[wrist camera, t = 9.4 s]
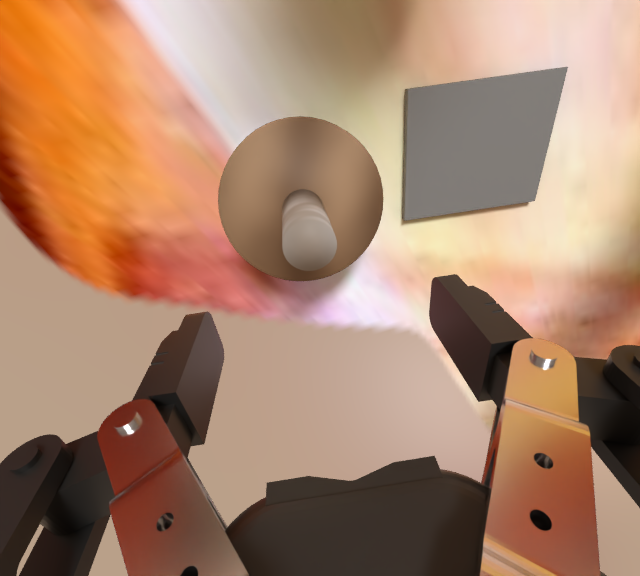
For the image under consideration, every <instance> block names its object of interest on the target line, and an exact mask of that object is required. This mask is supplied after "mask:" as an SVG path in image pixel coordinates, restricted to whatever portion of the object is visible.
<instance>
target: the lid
mask: <svg viewBox="0 0 640 576" xmlns="http://www.w3.org/2000/svg"><path fill="white" fill-rule="evenodd" d="M218 205H219V214H220V218H221V223H222V225H223V228H224V231H225V233H226V235H227V237H228V239H229V241H230V242H231V244H232V245H233V247H234V248H235V250H236V251H237V252H238V253H239V254H240V255H241V256H242V257H243V258H244V259H245V260H246V261H247V262H248V263H249V264H251V265H252V266H254V267H255V268H257V269H258V270H260V271H262V272H264V273H266V274H268V275H271V276H273V277H276V278H280V279H284V280H291V281H311V280H317V279H321V278H325V277H328V276H331V275H333V274H335V273H337V272H340V271H341V270H343V269H345V268H346V267H348V266H349V265H350V264H352V263H353V262H354V261H356V260H357V259H358V258H359V257H360V256H361V255H362V254H363V252H364V251H365V250H366V249H367V247H368V246H369V244H370V243H371V241H372V239H373V238H374V236H375V234H376V231H377V229H378V226H379V223H380V220H381V215H382V210H383V188H382V183H381V178H380V175H379V172H378V170H377V167H376V165H375V163H374V161H373V159H372V157H371V156H370V154H369V153H368V151H367V150H366V149H365V147H364V146H363V145H362V144H361V143H360V142H359V141H358V140H357V139H356V138H355V137H353V136H352V135H351V134H350V133H348V132H347V131H345V130H343V129H342V128H340V127H338V126H337V125H335V124H332V123H330V122H327V121H325V120H321V119H317V118H312V117H288V118H283V119H279V120H275V121H273V122H270V123H268V124H265V125H264V126H262V127H260V128H258V129H256V130H255V131H254V132H252V133H251V134H250V135H249V136H247V137H246V138H245V139H244V140H243V141H242V142H241V143H240V144H239V146H238V147H237V148H236V149H235V151H234V152H233V154H232V155H231V156H230V158H229V160H228V162H227V164H226V166H225V168H224V171H223V174H222V177H221V180H220V186H219V194H218Z"/></svg>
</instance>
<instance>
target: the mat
mask: <svg viewBox="0 0 640 576" xmlns="http://www.w3.org/2000/svg"><path fill="white" fill-rule="evenodd" d="M567 68H568V67H563V68H555V69H548V70H541V71H534V72H526V73H519V74H512V75H505V76H497V77H490V78H483V79H476V80H469V81H461V82H454V83H447V84H440V85H432V86H425V87H418V88H411V89H405V129H404V171H403V213H402V219H403V220H404V221H405V220H412V219H419V218H425V217H432V216H438V215H445V214H452V213H458V212H465V211H472V210H478V209H485V208H492V207H498V206H505V205H512V204H518V203H525V202H532V201H535V198H536V194H537V190H538V185H539V181H540V177H541V173H542V169H543V165H544V161H545V157H546V153H547V149H548V145H549V141H550V137H551V133H552V129H553V125H554V121H555V117H556V113H557V109H558V105H559V101H560V97H561V93H562V89H563V85H564V81H565V76H566V72H567Z"/></svg>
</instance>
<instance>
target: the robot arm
mask: <svg viewBox="0 0 640 576" xmlns="http://www.w3.org/2000/svg"><path fill="white" fill-rule="evenodd" d="M429 316H430V322H431V325H432V328H433V330H434V331H435V333H436V335H437V336H438V338H439V339H440V341H441V343H442V344H443V346H444V347H445V349H446V350H447V352H448V354H449V355H450V357H451V358H452V360H453V362H454V363H455V365H456V366H457V368H458V370H459V371H460V373H461V374H462V376H463V378H464V379H465V381H466V382H467V384H468V386H469V387H470V389H471V390H472V392H473V394H474V395H475V397H476V398H477V400H478V402H480V401H487V400H493V401H494V402H495V404H496V405H497V407H496V411H495V416H494V421H493V426H492V432H491V437H490V443H489V448H488V453H487V459H486V464H485V468H484V473H483V477H482V481H481V483H480V482H478V481H476V480H473V479H472V478H469V477H467V476H464V475H461V474H459V473H456V472H451V471H447V470H441V469H440V468H439V466H438V463H437V461H436V458H435V456H431V457H424V458H419V459H412V460H406V461H400V462H394V463H391V464H389V465H387V466H385V467H383V468H381V469H379V470H376V471H374V472H372V473H370V474H368V475H366V476H364V477H361V478H359V479H357V480H354V481H345V480H337V479H328V478H320V477H311V476H306V477H300V478H294V479H288V480H281V481H275V482H269V483H267V489H266V498H263V499H261V500H260V501H258V502H256V503H255V504H253V505H251V506H250V507H249V508H247V509H246V510H245V511H244V512H242V513H241V514H240V515H239V516H238V517H237V518H236V519H235V520H234V521H233V522H232V523H231V524H230V525H229V526H228V527H227V525H226V523H225V522H224V520H223V518H222V517H221V515H220V513H219V512H218V510H217V508H216V506H215V505H214V503H213V501H212V500H211V498H210V496H209V494H208V492H207V491H206V489H205V487H204V486H203V484H202V482H201V480H200V479H199V477H198V475H197V473H196V471H195V470H194V468H193V466H192V465H191V463H190V461H189V459H188V458H187V457H188V454H189V450H190V446H195V445H202V444H204V443H205V438H206V434H207V430H208V426H209V421H210V417H211V413H212V409H213V404H214V400H215V395H216V392H217V387H218V382H219V378H220V374H221V370H222V366H223V362H224V349H223V345H222V342H221V339H220V337H219V334H218V332H217V329H216V326H215V324H214V321H213V318H212V316H211V314H210V313H209V312H202V313H195V314H189V315H186V316H185V317H184V319H183V321H182V324H181V326H180V328H179V330H177V331H172V332H171V333H170V334H169V335H168V336H167V337H166V338H165V339H164V340H163V341H162V342H161V344H160V346H159V348H158V350H157V352H156V356H155V357H154V358H153V360H152V362H151V366H149V368H148V370H147V372H146V374H145V376H144V378H143V380H142V382H141V384H140V386H139V388H138V390H137V392H136V394H135V396H134V398H133V400H132V401H130V402H128V403H126V404H123V405H122V406H120V407H118V408H117V409H115V410H114V411H113V412H112V413H111V414H110V415H108V416H107V418H106V419H105V420H104V421H103V423H102V424H101V426H100V428H99V430H98V431H97V432H94V433H92V434H89V435H87V436H85V437H82V438H80V439H77V440H75V441H72V442H70V443H68V444H65V443H64V442H63V441H62V440H61V439H60V438H59V437H58V436H56V435H43V436H40V437H37V438H34V439H32V440H30V441H28V442H26V443H25V444H23V445H21V446H20V447H18V448H17V449H16V450H14V451H13V452H12V453H11V454H10V455H8V456H7V457H6V458H5V459H4V460H3V461H2V462H1V463H0V576H16V574H17V569H18V565H19V562H20V561H21V558H22V557H23V555H24V553H25V551H26V549H27V547H28V545H29V543H30V541H31V539H32V538H33V536H34V534H35V532H36V530H37V528H38V526H39V524H41V525H42V526H44V528H43V530H42V532H41V534H40V536H39V538H38V540H37V542H36V544H35V546H34V547H33V549H32V551H31V553H30V555H29V557H28V559H27V561H26V563H25V565H24V567H23V569H22V571H21V573H20V575H19V576H88V575H89V572H90V569H91V566H92V564H93V561H94V558H95V555H96V553H97V550H98V547H99V544H100V542H101V539H102V536H103V533H104V531H105V528H106V525H107V523H108V520H109V517H110V515H111V517H112V520H113V524H114V527H115V531H116V535H117V538H118V542H119V545H120V548H121V552H122V556H123V559H124V563H125V566H126V570H127V573H128V576H606V575H605V574H604V573H602V572H601V571H600V563H599V548H598V535H597V521H596V508H595V495H594V480H593V468H592V453H591V447H592V448H593V450H594V451H595V452H596V453H597V455H598V456H599V457H600V458H601V460H602V461H603V462H604V463H605V465H606V466H607V467H608V468H609V470H610V471H611V472H612V473H613V475H614V476H615V477H616V479H617V480H618V481H619V482H620V484H621V485H622V486H623V487H624V489H625V490H626V491H627V492H628V494H629V495H630V496H631V497H632V499H633V500H634V501H635V502H636V504H637V505H638V506H639V508H640V346H635V345H623V346H619V347H616V348H614V349H613V350H612V352H611V353H610V355H609V357H608V359H607V360H603V359H591V358H579V357H573V356H572V355H571V354H570V353H569V352H568V351H567V350H566V349H564V348H563V347H561V346H559V345H557V344H555V343H553V342H550V341H547V340H543V339H535V338H532V337H531V336H530V335H529V334H528V333H527V332H526V331H525V330H524V329H523V328H522V327H521V326H520V325H519V324H518V323H517V322H516V321H515V320H514V319H513V318H512V317H511V316H510V315H509V314H508V313H507V312H504V309H503V308H502V307H501V306H500V305H499V304H496V301H495V300H494V299H493V298H492V297H491V296H490V295H489V294H488V293H486V292H484V291H482V290H481V289H479V288H477V287H475V286H467V285H466V284H465V283H464V282H463V281H462V279H461V278H460V277H459V276H458V275H455V274H454V275H448V276H441V277H435V278H433V280H432V285H431V298H430V310H429Z"/></svg>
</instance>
